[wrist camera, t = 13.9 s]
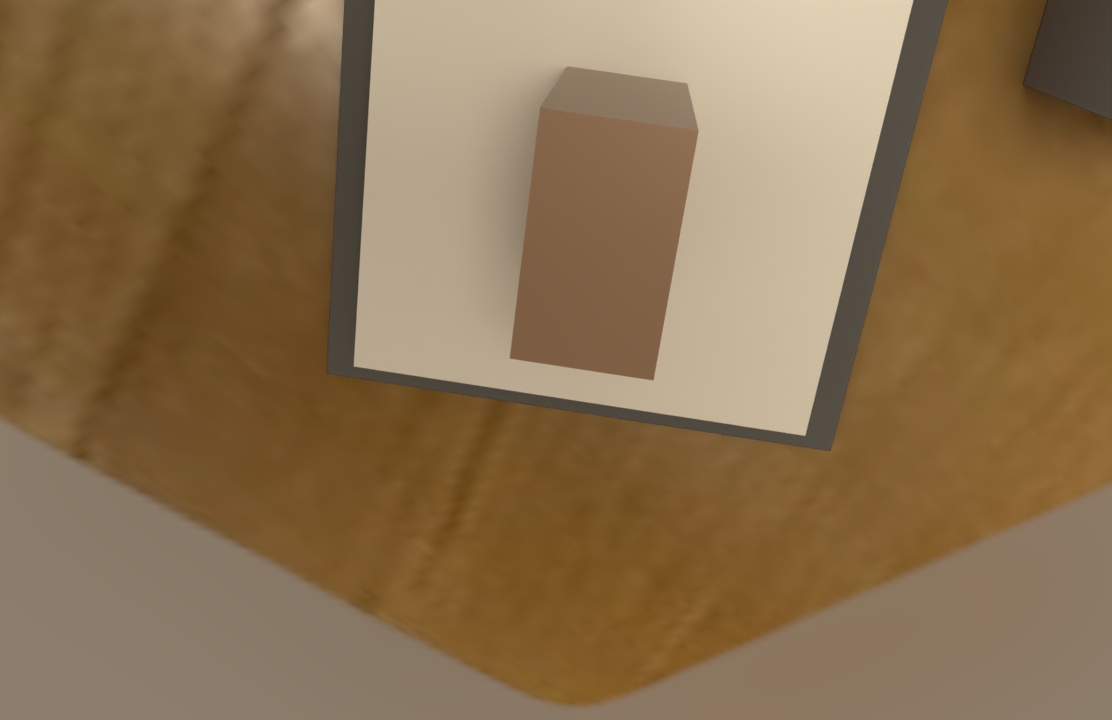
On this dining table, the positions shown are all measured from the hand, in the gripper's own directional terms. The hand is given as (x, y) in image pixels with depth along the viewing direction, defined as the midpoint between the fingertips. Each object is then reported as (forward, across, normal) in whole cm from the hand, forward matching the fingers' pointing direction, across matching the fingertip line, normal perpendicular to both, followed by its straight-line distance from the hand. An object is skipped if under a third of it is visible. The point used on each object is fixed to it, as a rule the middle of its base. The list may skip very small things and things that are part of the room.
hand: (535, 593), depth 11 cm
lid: (+23, 0, 0) cm, 23 cm away
